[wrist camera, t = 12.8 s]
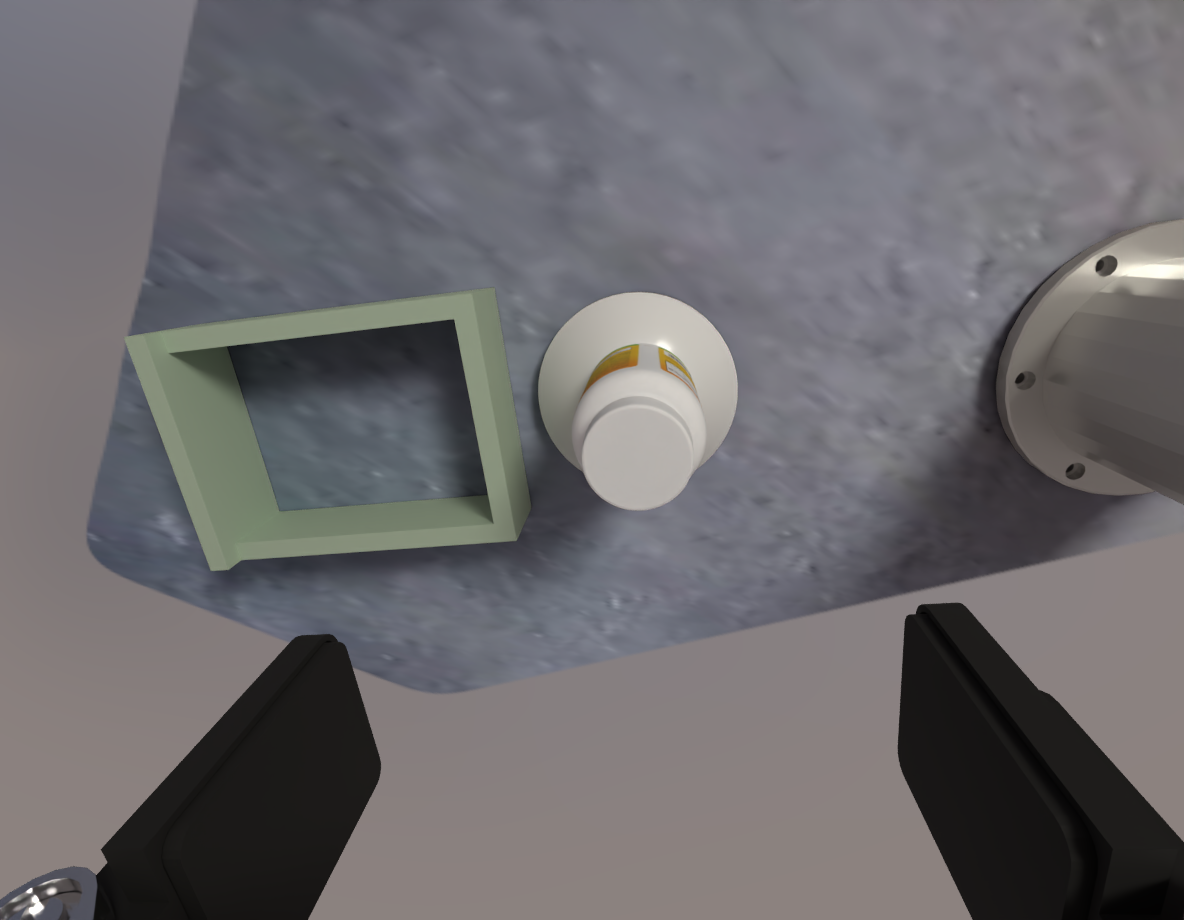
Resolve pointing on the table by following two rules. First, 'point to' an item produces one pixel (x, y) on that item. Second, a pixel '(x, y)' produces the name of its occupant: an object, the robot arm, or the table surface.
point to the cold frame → (236, 468)
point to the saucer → (629, 324)
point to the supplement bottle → (639, 427)
